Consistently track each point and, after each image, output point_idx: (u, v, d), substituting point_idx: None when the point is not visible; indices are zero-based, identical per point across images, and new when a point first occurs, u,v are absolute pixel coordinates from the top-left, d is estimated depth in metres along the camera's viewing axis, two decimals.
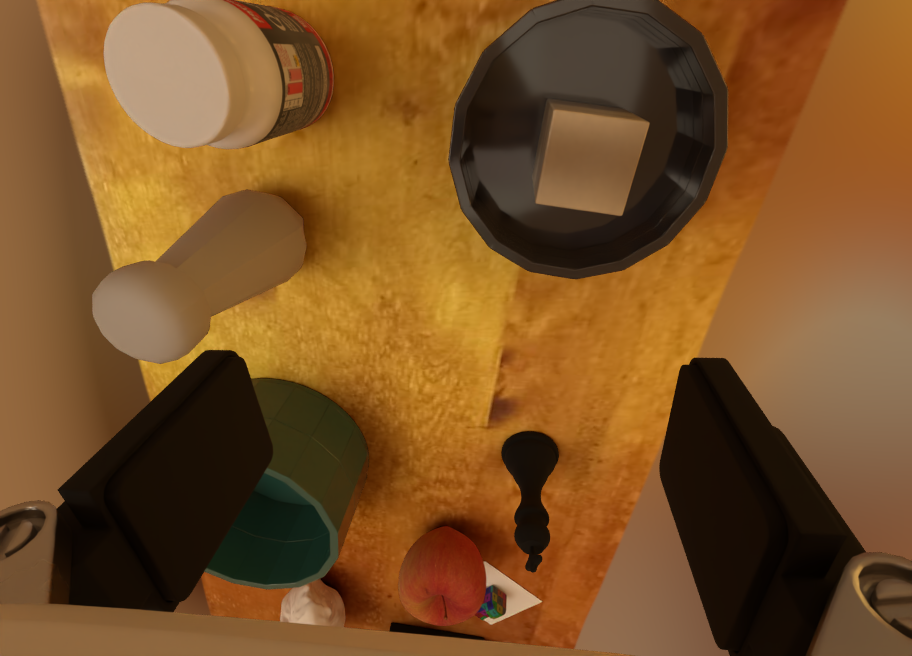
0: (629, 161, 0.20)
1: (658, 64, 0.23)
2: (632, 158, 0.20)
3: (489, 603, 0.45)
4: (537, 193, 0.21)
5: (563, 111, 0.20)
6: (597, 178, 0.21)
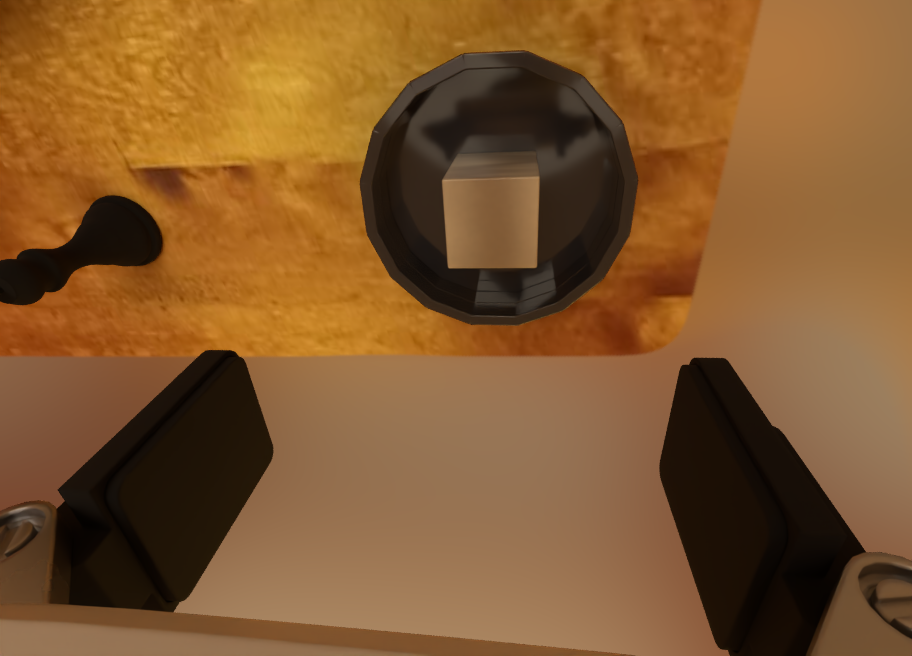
0: (500, 260, 0.21)
1: (572, 245, 0.26)
2: (503, 262, 0.21)
3: None
4: (453, 179, 0.20)
5: (538, 187, 0.19)
6: (479, 236, 0.21)
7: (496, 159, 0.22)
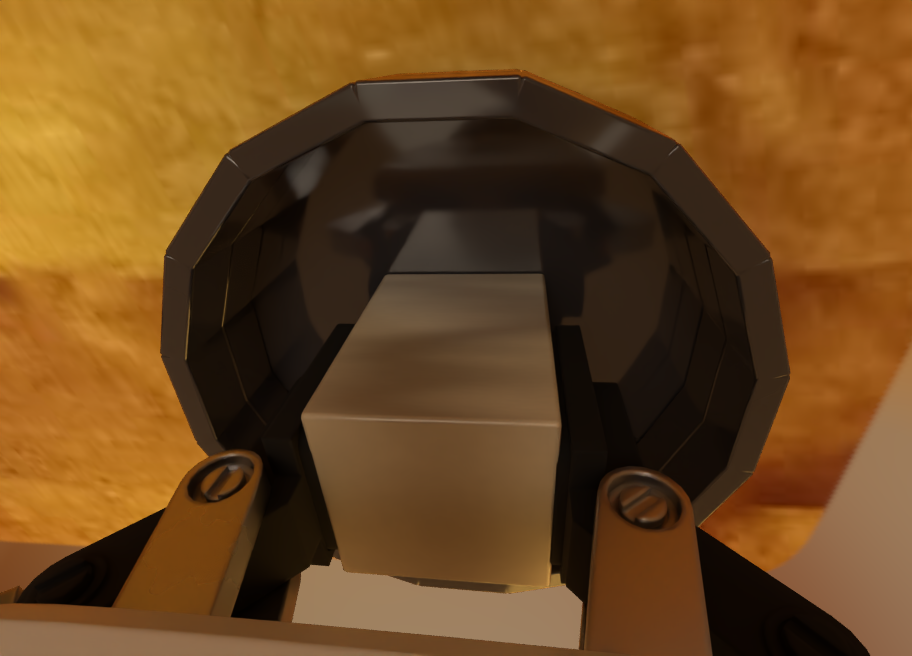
0: (463, 570, 0.09)
1: None
2: (470, 574, 0.09)
3: None
4: (329, 415, 0.07)
5: (556, 446, 0.07)
6: (409, 527, 0.08)
7: (458, 306, 0.10)
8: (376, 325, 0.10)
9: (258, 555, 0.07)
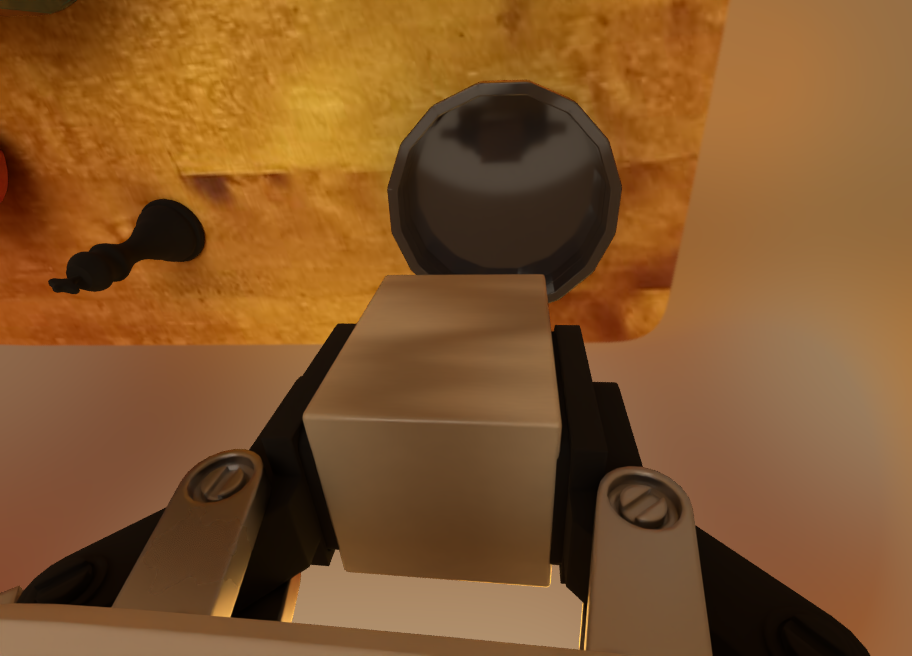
0: (463, 570, 0.09)
1: (567, 244, 0.30)
2: (470, 574, 0.09)
3: None
4: (330, 415, 0.07)
5: (556, 446, 0.07)
6: (410, 527, 0.08)
7: (459, 307, 0.10)
8: (377, 326, 0.10)
9: (258, 555, 0.07)
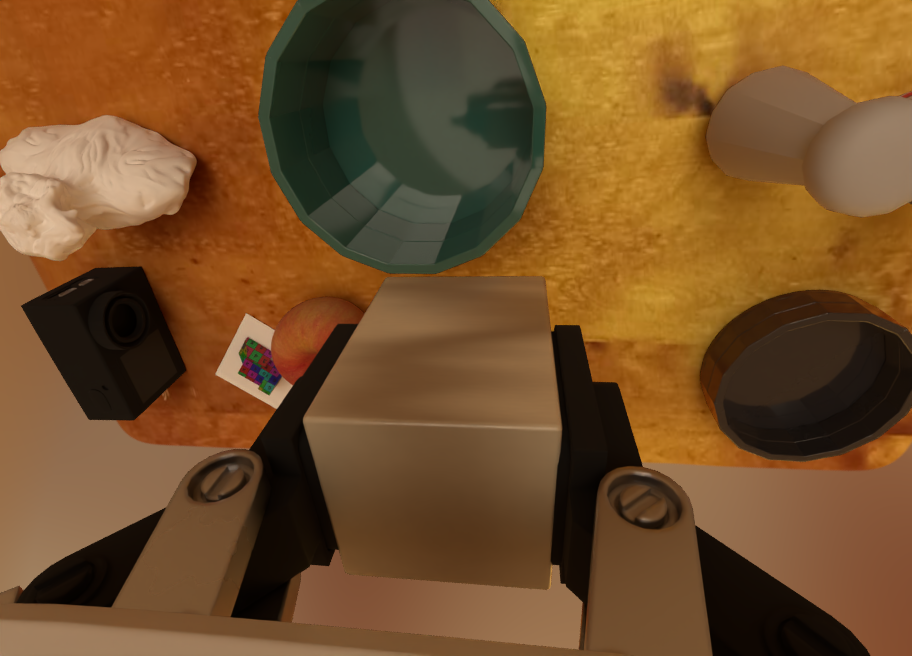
0: (464, 573, 0.09)
1: (839, 403, 0.37)
2: (470, 576, 0.09)
3: (274, 379, 0.40)
4: (331, 418, 0.07)
5: (557, 449, 0.07)
6: (411, 529, 0.08)
7: (459, 309, 0.10)
8: (377, 328, 0.10)
9: (258, 555, 0.07)
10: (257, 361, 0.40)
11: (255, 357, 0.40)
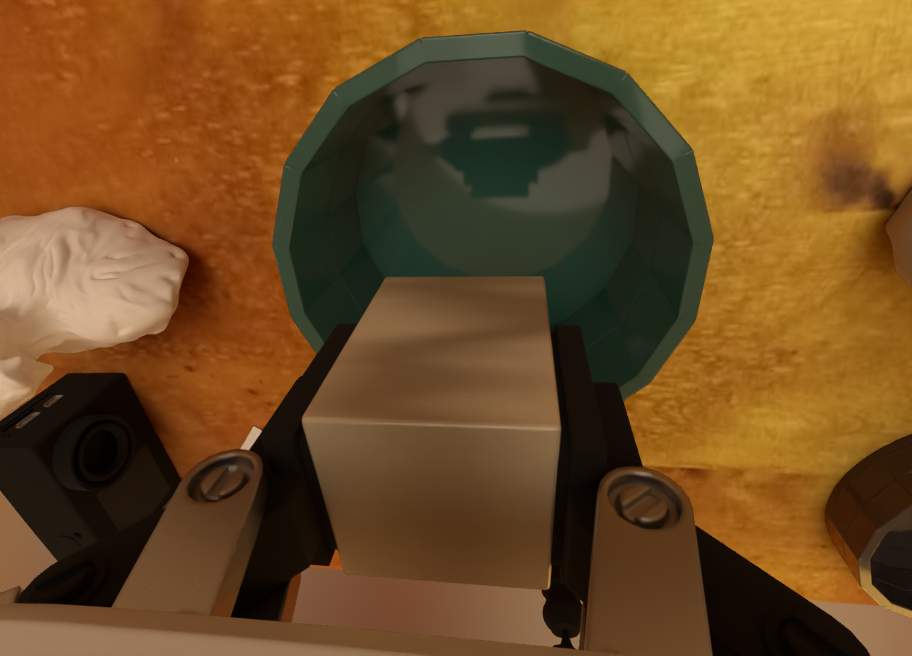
0: (463, 573, 0.09)
1: None
2: (470, 576, 0.09)
3: None
4: (329, 418, 0.07)
5: (556, 449, 0.07)
6: (410, 530, 0.08)
7: (459, 309, 0.10)
8: (376, 328, 0.10)
9: (258, 555, 0.07)
10: None
11: None
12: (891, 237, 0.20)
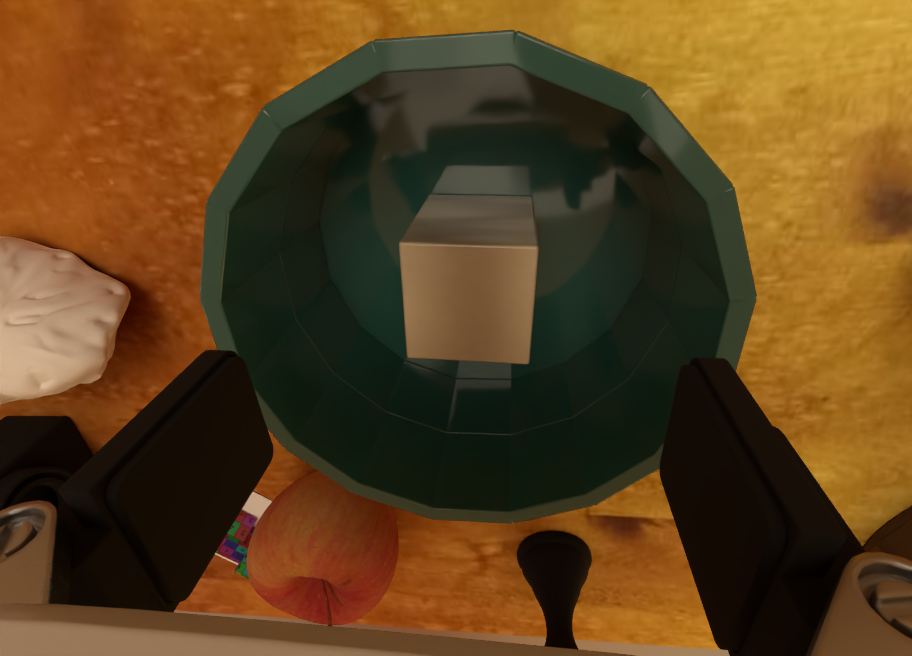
0: (479, 352, 0.15)
1: None
2: (483, 355, 0.15)
3: None
4: (414, 243, 0.14)
5: (535, 260, 0.13)
6: (451, 320, 0.15)
7: (479, 208, 0.17)
8: (430, 214, 0.16)
9: (75, 602, 0.07)
10: (232, 534, 0.29)
11: (231, 528, 0.29)
12: None
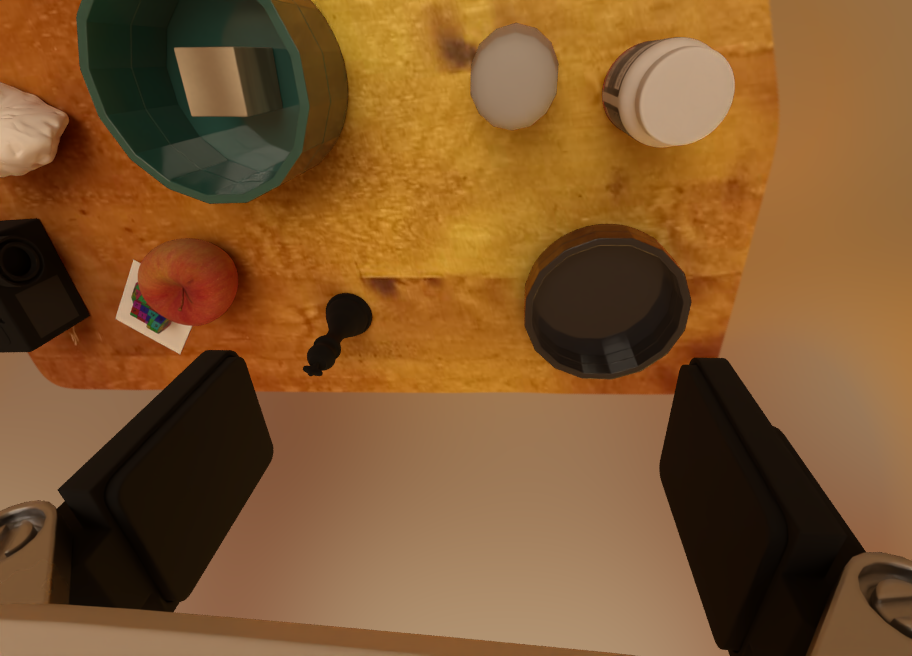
0: (223, 110, 0.31)
1: (644, 328, 0.42)
2: (225, 111, 0.31)
3: (161, 318, 0.46)
4: (180, 47, 0.30)
5: (233, 54, 0.30)
6: (206, 91, 0.31)
7: None
8: None
9: (74, 603, 0.07)
10: (145, 303, 0.46)
11: (144, 299, 0.46)
12: None
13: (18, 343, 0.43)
